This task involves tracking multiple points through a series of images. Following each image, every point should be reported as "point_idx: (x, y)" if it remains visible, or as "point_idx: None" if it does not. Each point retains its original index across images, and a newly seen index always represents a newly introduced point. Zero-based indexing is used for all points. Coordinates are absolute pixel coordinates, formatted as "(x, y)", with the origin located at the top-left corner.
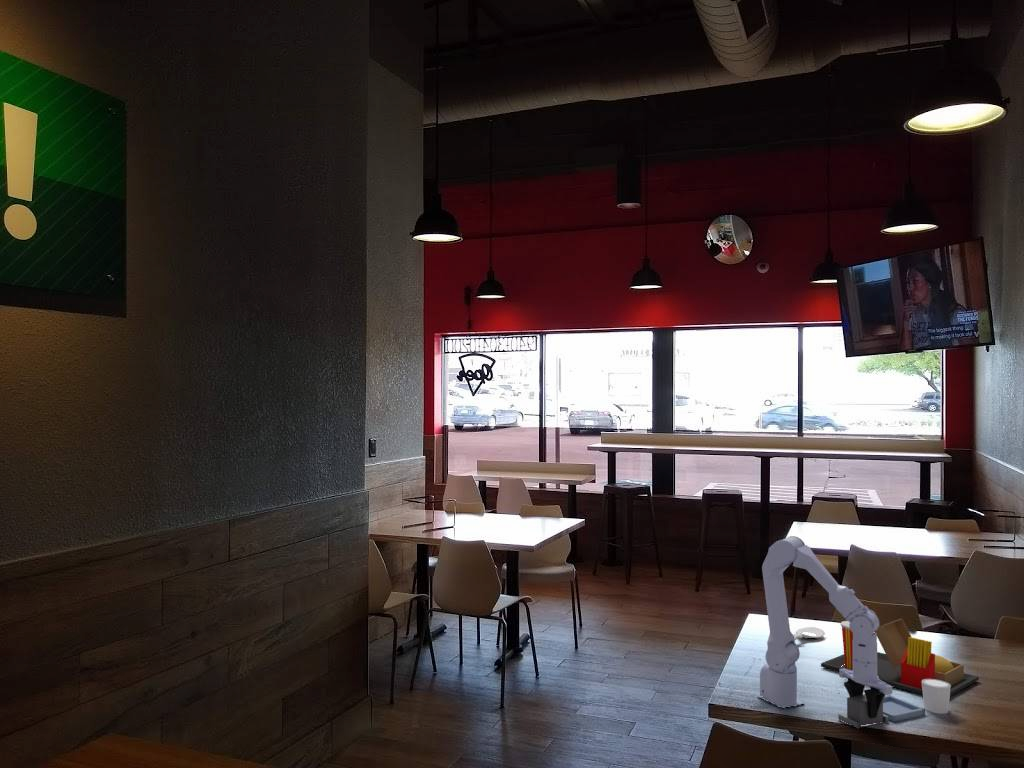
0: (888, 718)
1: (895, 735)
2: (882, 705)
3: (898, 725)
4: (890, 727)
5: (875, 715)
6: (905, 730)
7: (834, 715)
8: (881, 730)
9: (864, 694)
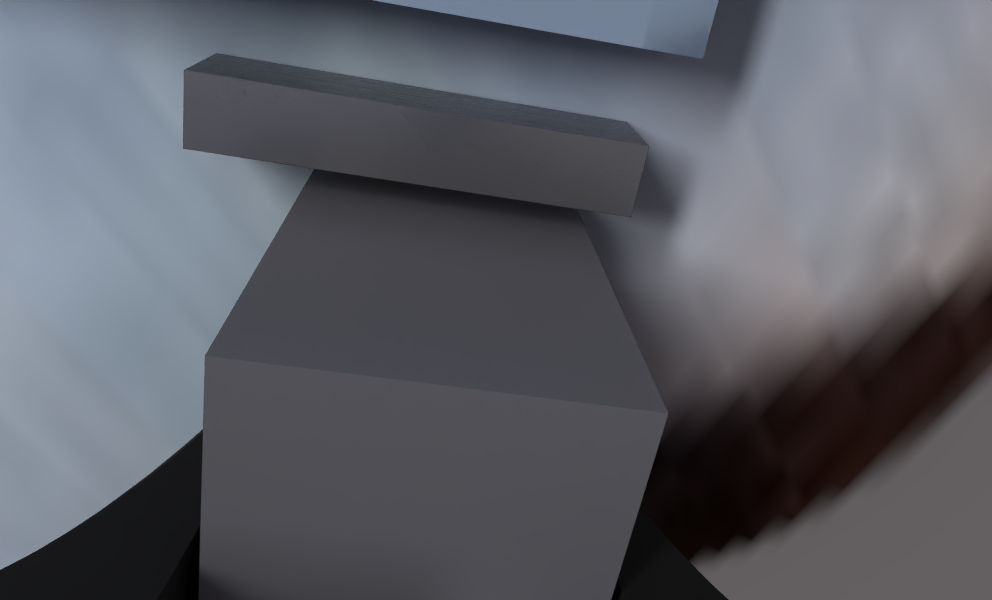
0: (637, 134)
1: (885, 458)
2: (624, 336)
3: (787, 104)
4: (735, 282)
5: None
6: (933, 201)
7: (49, 535)
8: (698, 464)
9: (211, 542)
